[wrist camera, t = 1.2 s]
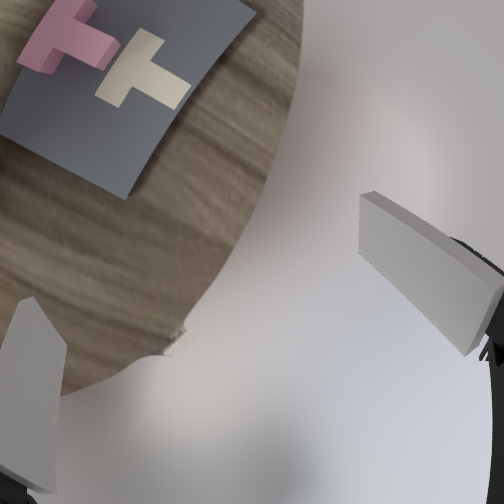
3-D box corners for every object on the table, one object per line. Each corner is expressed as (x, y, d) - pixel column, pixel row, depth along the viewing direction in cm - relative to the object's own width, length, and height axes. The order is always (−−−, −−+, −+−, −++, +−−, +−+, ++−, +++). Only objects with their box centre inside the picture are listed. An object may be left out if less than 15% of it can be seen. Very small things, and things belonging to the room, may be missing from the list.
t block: (32, 64, 19) (16, 62, 16) (76, -2, 17) (65, -14, 14) (90, 93, 23) (79, 92, 20) (136, 25, 21) (132, 15, 18)
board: (-1, 129, 22) (-6, 131, 21) (120, -55, 16) (119, -59, 15) (126, 196, 31) (125, 200, 30) (253, 15, 24) (257, 12, 23)
